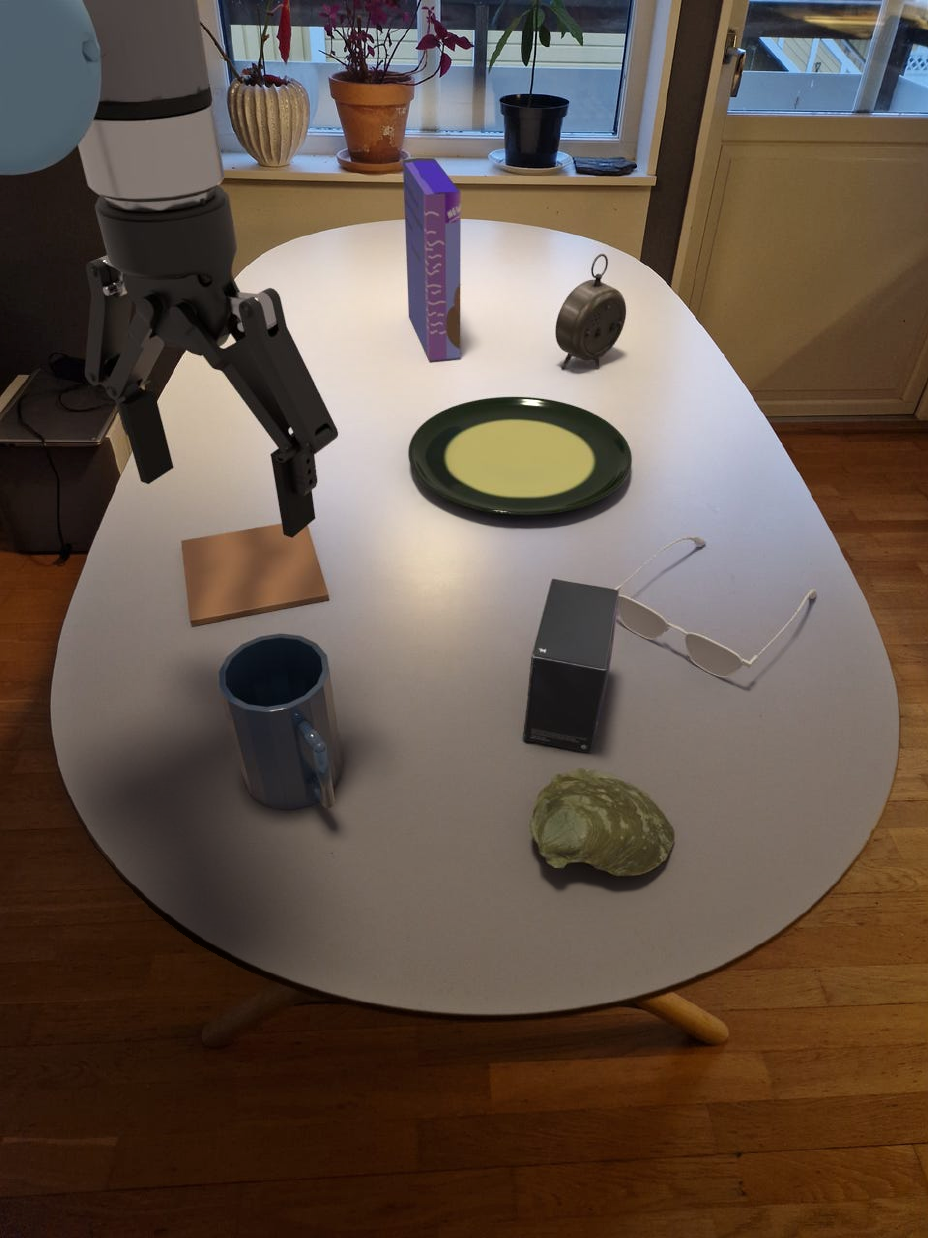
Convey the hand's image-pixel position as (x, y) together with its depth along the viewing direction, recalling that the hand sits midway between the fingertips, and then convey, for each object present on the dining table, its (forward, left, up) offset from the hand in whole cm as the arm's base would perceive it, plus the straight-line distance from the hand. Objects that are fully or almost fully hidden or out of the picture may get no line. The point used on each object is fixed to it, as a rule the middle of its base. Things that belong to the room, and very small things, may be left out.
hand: (226, 500), depth 64 cm
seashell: (+23, -22, -23) cm, 39 cm away
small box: (+26, -8, -23) cm, 35 cm away
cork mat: (+1, +20, -23) cm, 30 cm away
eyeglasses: (+46, 0, -23) cm, 51 cm away
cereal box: (+36, +72, -23) cm, 84 cm away
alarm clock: (+56, +56, -23) cm, 82 cm away
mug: (+1, -9, -22) cm, 24 cm away
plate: (+36, +32, -23) cm, 53 cm away
